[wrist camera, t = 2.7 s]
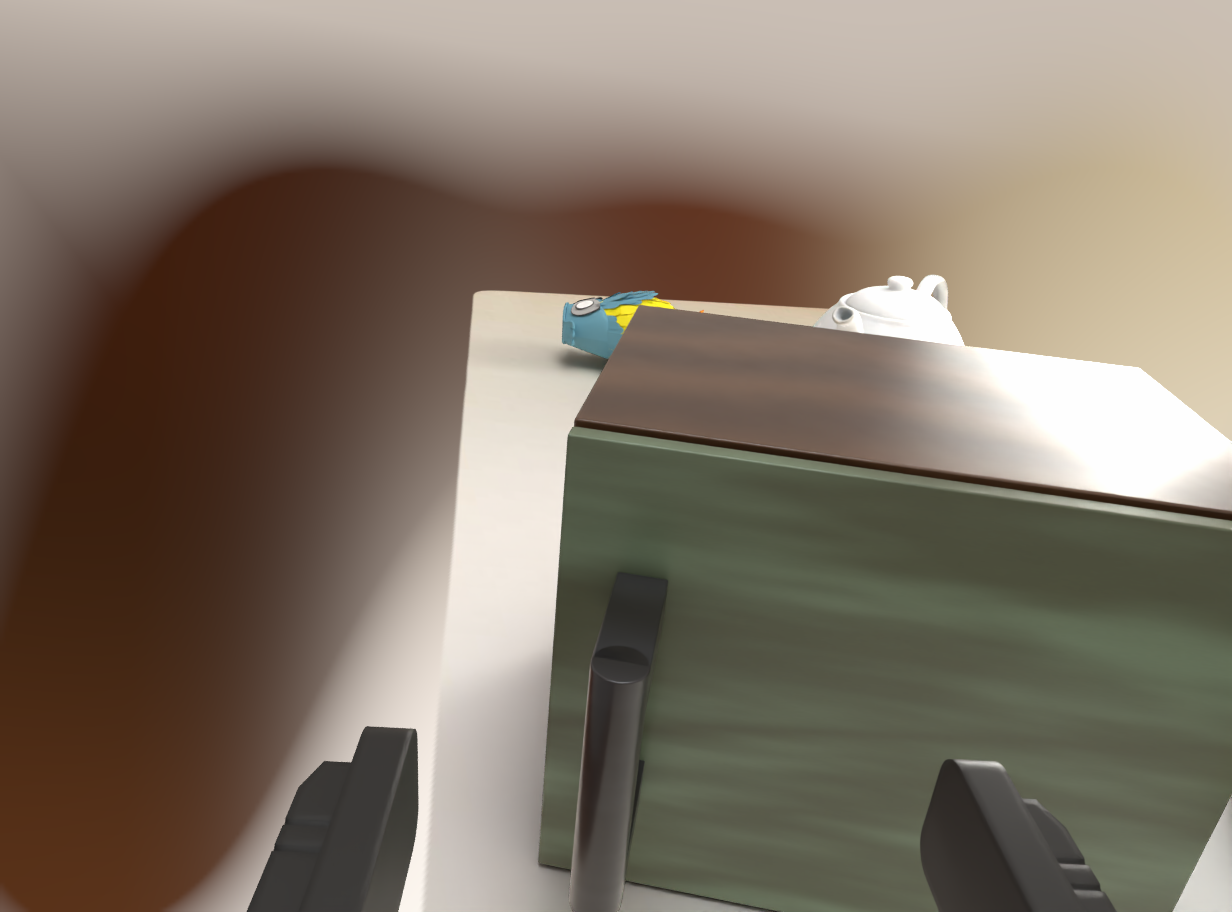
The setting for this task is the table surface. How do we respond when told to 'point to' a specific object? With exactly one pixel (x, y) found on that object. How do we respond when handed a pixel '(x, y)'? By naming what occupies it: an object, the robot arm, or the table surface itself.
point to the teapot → (896, 311)
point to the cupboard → (912, 410)
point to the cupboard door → (869, 676)
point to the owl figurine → (603, 320)
